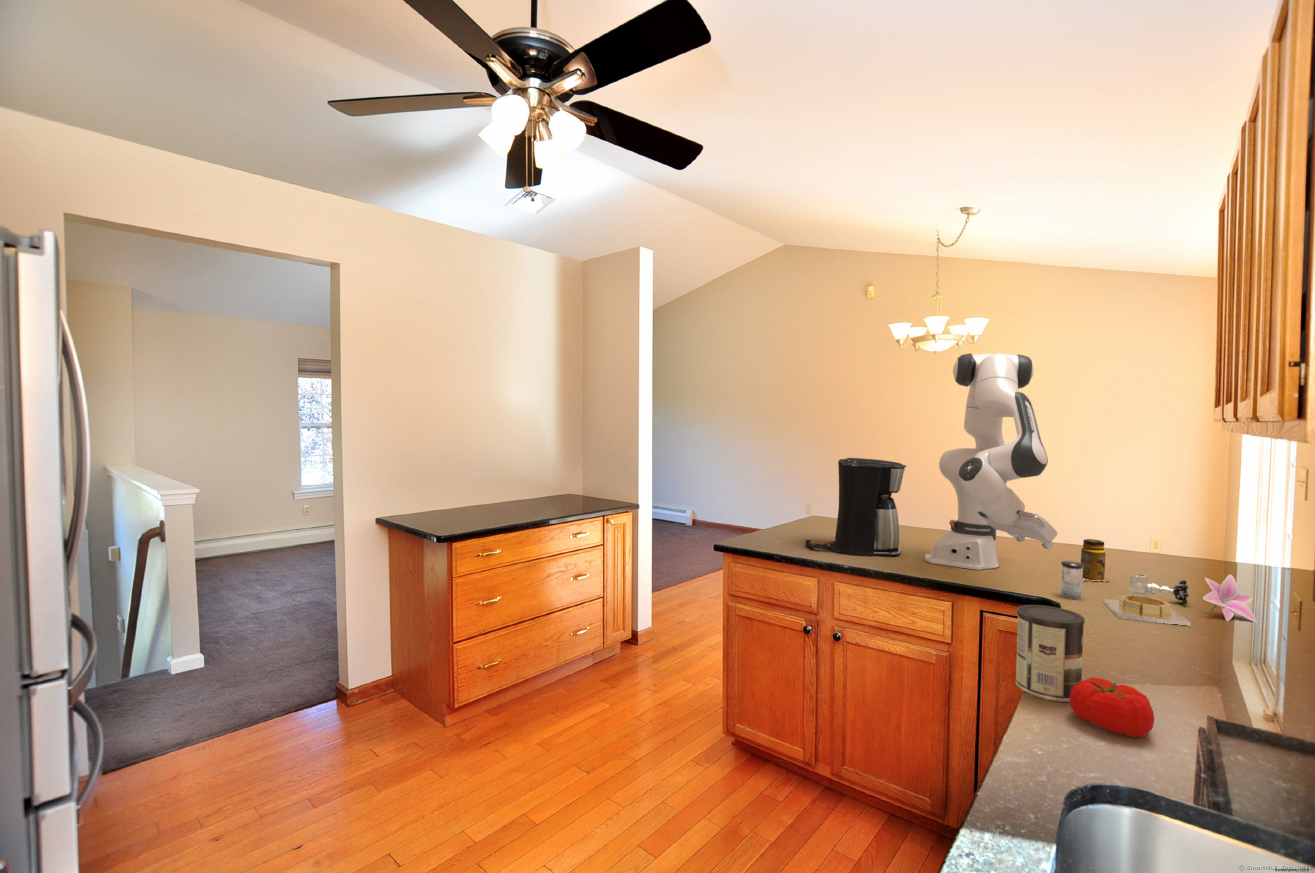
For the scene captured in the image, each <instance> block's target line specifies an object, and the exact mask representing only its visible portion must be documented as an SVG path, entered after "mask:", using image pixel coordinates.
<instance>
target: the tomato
mask: <svg viewBox="0 0 1315 873" xmlns="http://www.w3.org/2000/svg"><path fill="white" fill-rule="evenodd" d="M1069 700H1070V702H1069V706H1070V709H1071V711H1072V713H1073V714H1074V715H1075V717H1077V718H1079V719H1080V720H1082V721H1084V722H1088V723H1091V724H1092V725H1095V726H1096V727H1097V728H1101V729H1103V730H1105V731H1107V732H1112V733H1115V734H1121V735H1122V734H1123V735H1125V736H1127V737H1131V738H1141V737H1145V736H1147V735H1148V734H1149V733H1150V732H1151V731H1152V730H1153V728H1154V723H1155V715H1154V714H1155V713H1154V709H1153V708H1152V706H1151V703H1150V700H1149V699H1148V697H1147V695H1145V694H1143V692H1140V691H1139V690H1138V689H1136V688H1135V687H1133V686H1130V685H1127V684H1118V685H1117V682H1115V683H1113V682H1112V681H1110V680H1108V679H1104V678H1102V677H1089V678H1086V679H1082V681H1081V682H1080V683H1078V684H1076V685H1075V686H1074V688H1073V689H1072V691H1071V694H1070V698H1069Z"/></svg>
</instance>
